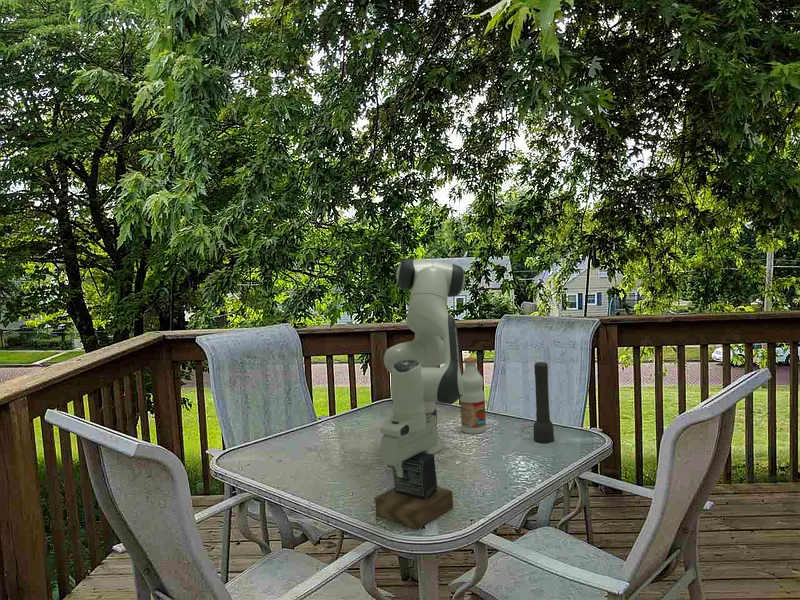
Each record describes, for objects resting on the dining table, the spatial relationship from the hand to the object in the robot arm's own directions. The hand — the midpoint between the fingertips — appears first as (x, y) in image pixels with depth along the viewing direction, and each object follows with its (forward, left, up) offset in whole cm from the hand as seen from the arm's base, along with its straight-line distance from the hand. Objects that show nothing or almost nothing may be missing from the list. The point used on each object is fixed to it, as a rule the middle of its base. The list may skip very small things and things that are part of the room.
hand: (412, 470), depth 168 cm
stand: (0, 0, -12) cm, 12 cm away
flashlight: (+2, +71, -12) cm, 72 cm away
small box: (0, +1, -7) cm, 7 cm away
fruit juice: (-26, +68, -12) cm, 74 cm away
